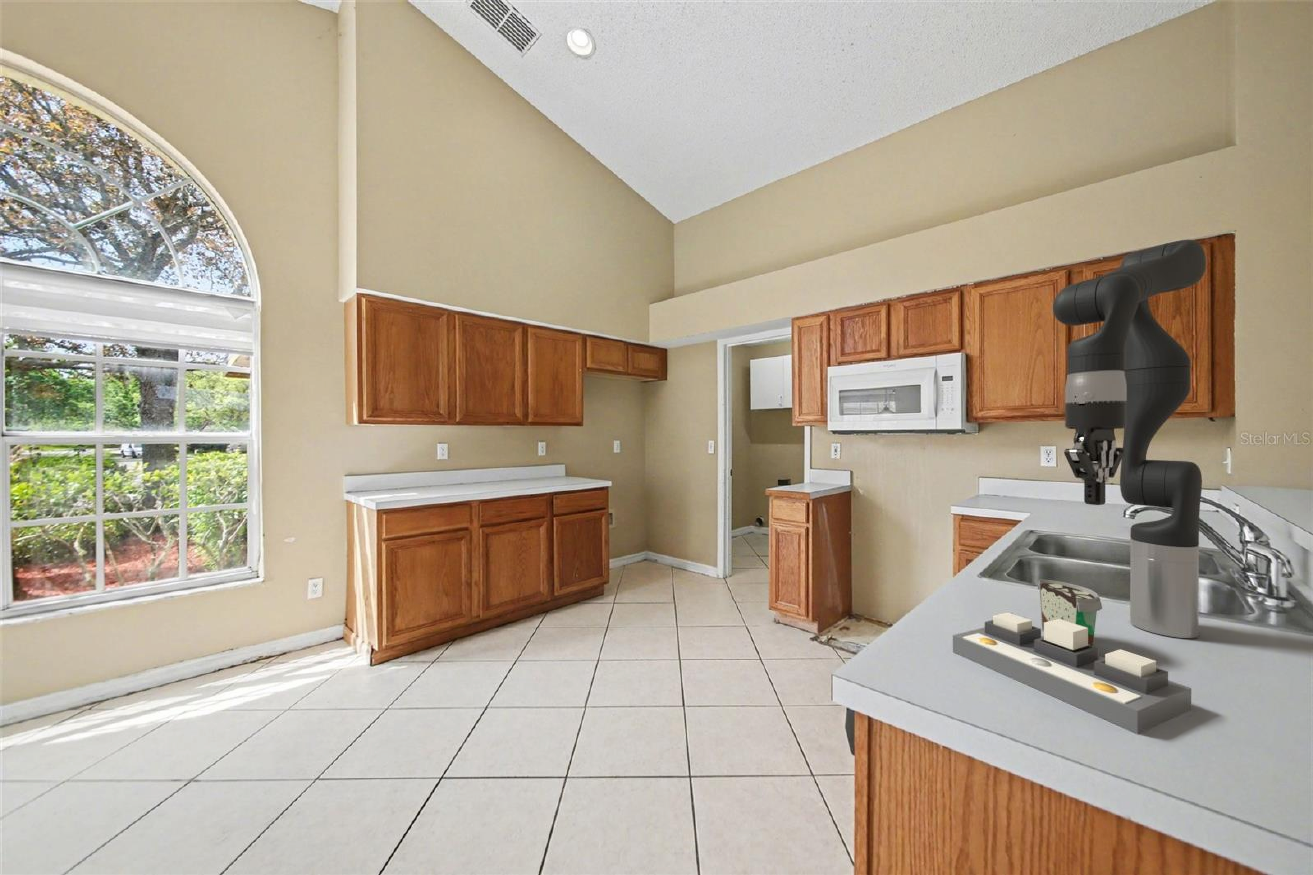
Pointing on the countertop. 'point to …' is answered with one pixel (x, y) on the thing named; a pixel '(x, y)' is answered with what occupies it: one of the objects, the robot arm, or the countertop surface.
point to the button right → (1131, 663)
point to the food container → (1069, 604)
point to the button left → (1012, 622)
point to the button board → (1076, 676)
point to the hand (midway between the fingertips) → (1094, 504)
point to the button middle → (1066, 634)
